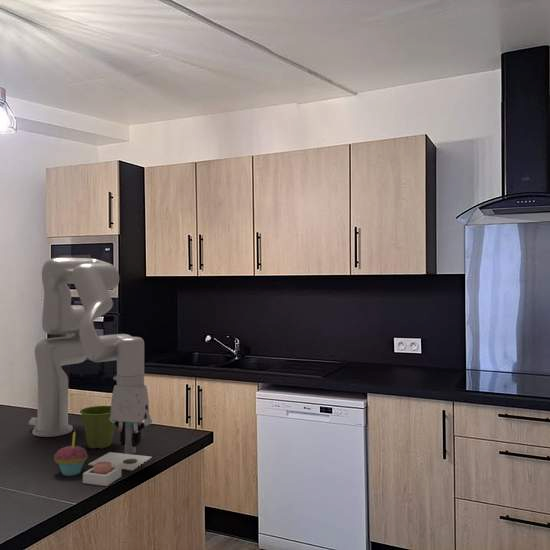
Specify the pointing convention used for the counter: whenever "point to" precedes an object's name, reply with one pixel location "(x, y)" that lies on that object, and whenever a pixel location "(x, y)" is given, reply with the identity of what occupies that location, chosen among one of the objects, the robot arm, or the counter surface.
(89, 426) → the plant pot
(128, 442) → the marker
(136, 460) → the paper
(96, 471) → the button
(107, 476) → the button housing
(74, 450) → the cupcake
